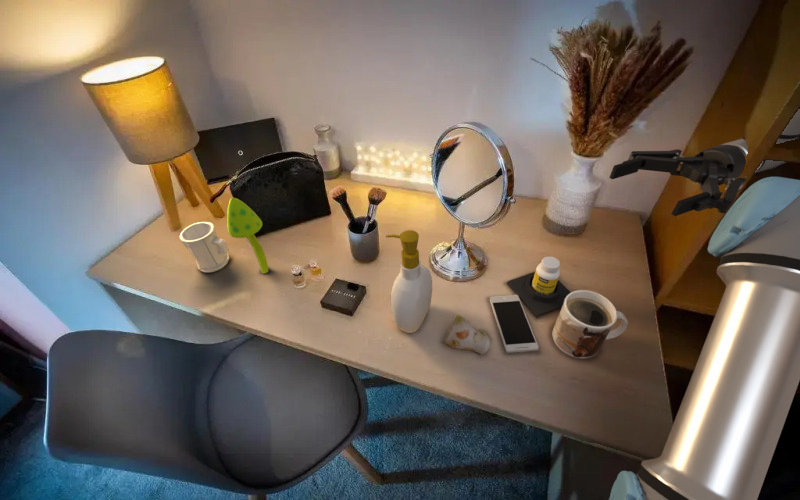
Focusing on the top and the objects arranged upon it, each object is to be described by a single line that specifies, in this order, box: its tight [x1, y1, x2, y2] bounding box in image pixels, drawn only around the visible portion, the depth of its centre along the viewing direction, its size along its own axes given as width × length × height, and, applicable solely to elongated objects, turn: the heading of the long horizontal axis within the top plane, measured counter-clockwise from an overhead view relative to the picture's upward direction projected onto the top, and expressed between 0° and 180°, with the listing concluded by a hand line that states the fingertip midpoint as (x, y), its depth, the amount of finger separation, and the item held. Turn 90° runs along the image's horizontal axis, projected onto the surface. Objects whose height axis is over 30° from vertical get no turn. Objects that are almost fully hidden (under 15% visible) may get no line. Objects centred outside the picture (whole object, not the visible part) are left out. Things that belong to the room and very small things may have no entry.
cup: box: [178, 221, 230, 273], centre depth 100 cm, size 10×9×12 cm
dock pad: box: [506, 271, 572, 319], centre depth 87 cm, size 12×12×3 cm
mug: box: [551, 289, 629, 359], centre depth 74 cm, size 10×12×11 cm
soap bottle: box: [385, 229, 433, 334], centre depth 76 cm, size 14×9×26 cm, turn 158°
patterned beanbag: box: [443, 314, 492, 355], centre depth 77 cm, size 8×10×10 cm
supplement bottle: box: [531, 255, 561, 296], centre depth 85 cm, size 5×5×10 cm
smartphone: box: [489, 294, 540, 354], centre depth 82 cm, size 7×16×1 cm, turn 3°
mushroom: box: [226, 197, 269, 274], centre depth 92 cm, size 8×8×25 cm
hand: (642, 189), depth 64 cm, fingers open, 13 cm apart
